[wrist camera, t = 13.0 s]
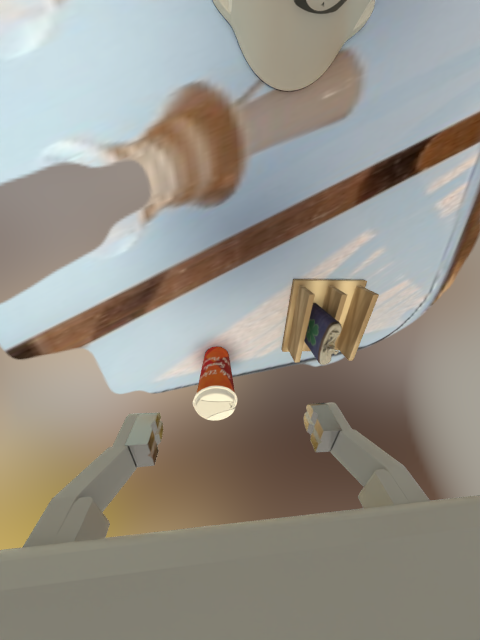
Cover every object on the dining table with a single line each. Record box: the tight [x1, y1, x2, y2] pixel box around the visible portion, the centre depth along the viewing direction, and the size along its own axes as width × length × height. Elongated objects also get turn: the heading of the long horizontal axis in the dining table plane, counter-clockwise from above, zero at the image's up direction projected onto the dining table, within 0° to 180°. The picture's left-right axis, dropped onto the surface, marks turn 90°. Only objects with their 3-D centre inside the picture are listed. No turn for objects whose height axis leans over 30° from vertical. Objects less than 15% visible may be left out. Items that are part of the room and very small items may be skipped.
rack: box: [282, 279, 379, 362], centre depth 40 cm, size 15×17×6 cm
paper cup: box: [193, 347, 237, 420], centre depth 39 cm, size 8×8×14 cm
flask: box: [304, 303, 342, 365], centre depth 37 cm, size 9×3×11 cm, turn 177°
